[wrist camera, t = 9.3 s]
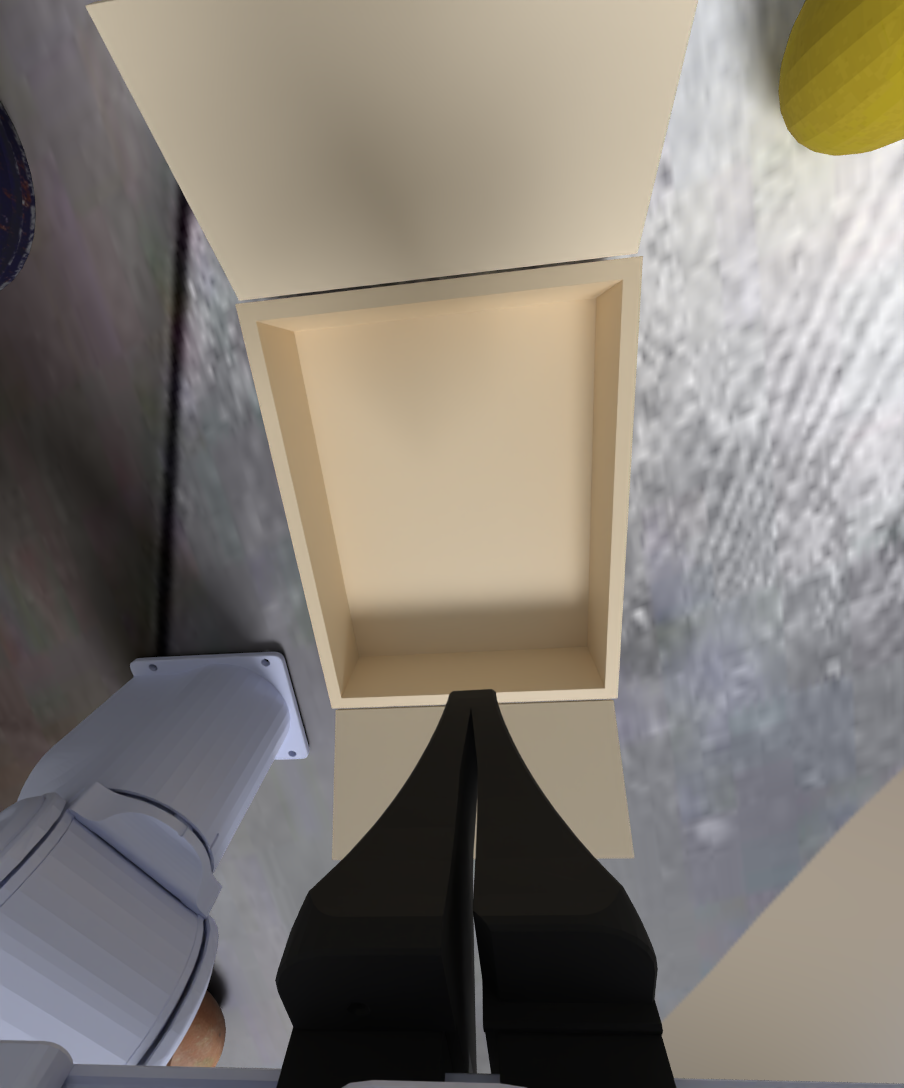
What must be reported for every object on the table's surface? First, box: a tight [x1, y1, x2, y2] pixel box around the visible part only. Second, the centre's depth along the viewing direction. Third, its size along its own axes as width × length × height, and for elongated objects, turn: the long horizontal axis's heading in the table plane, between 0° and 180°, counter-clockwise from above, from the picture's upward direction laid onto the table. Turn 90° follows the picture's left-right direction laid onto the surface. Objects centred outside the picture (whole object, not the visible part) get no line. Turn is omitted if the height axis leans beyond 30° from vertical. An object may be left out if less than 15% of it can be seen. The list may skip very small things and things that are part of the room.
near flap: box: [86, 0, 698, 301], centre depth 12 cm, size 14×6×1 cm
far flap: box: [332, 700, 634, 860], centre depth 20 cm, size 14×6×1 cm
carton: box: [236, 256, 643, 708], centre depth 19 cm, size 14×18×4 cm
